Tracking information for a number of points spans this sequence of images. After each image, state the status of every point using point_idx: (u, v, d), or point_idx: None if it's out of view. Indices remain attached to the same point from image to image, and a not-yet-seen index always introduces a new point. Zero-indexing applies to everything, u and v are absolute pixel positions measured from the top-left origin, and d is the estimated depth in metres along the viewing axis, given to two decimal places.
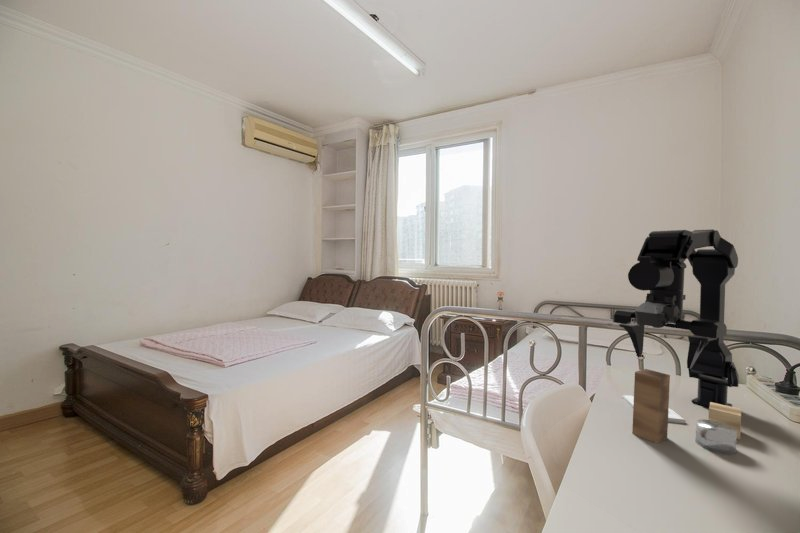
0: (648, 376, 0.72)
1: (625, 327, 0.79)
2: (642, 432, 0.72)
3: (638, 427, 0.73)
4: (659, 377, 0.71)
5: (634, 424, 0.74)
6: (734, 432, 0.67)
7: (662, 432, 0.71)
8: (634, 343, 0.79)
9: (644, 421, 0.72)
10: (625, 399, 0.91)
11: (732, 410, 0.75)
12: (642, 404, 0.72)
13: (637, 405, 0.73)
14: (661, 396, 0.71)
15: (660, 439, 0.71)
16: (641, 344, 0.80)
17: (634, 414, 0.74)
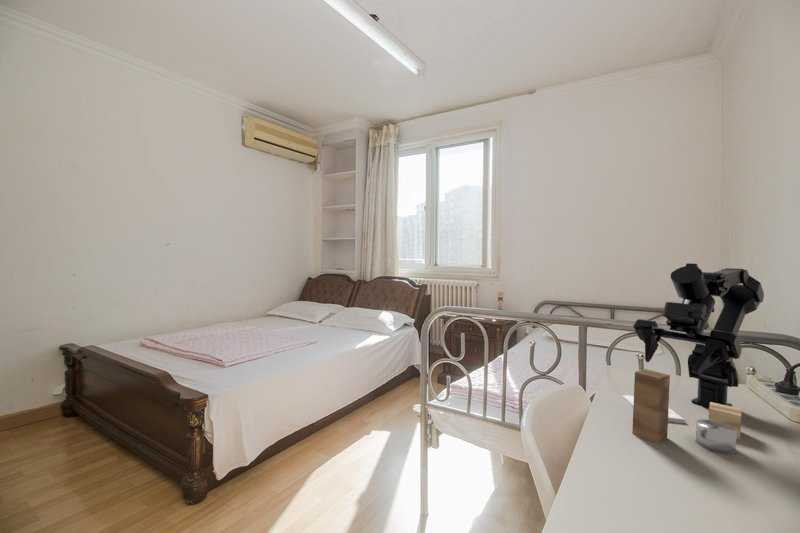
0: (648, 376, 0.72)
1: (644, 330, 0.84)
2: (642, 432, 0.72)
3: (638, 427, 0.73)
4: (659, 377, 0.71)
5: (634, 424, 0.74)
6: (734, 432, 0.67)
7: (662, 432, 0.71)
8: (647, 347, 0.82)
9: (644, 421, 0.72)
10: (625, 399, 0.91)
11: (732, 410, 0.75)
12: (642, 404, 0.72)
13: (637, 405, 0.73)
14: (661, 396, 0.71)
15: (660, 439, 0.71)
16: (652, 354, 0.82)
17: (634, 414, 0.74)
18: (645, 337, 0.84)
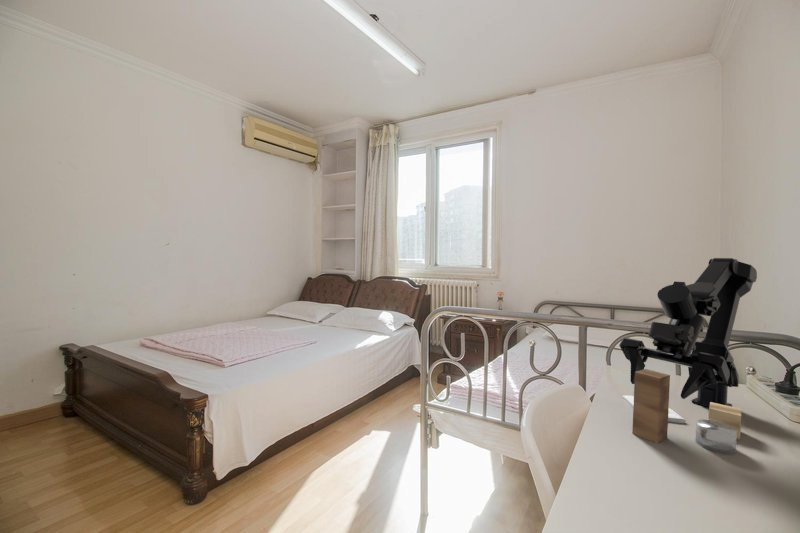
0: (648, 376, 0.72)
1: (630, 350, 0.81)
2: (642, 432, 0.72)
3: (638, 427, 0.73)
4: (659, 377, 0.71)
5: (634, 424, 0.74)
6: (734, 432, 0.67)
7: (662, 432, 0.71)
8: (632, 368, 0.79)
9: (644, 421, 0.72)
10: (625, 399, 0.91)
11: (732, 410, 0.75)
12: (642, 404, 0.72)
13: (637, 405, 0.73)
14: (661, 396, 0.71)
15: (660, 439, 0.71)
16: None
17: (634, 414, 0.74)
18: (631, 357, 0.81)
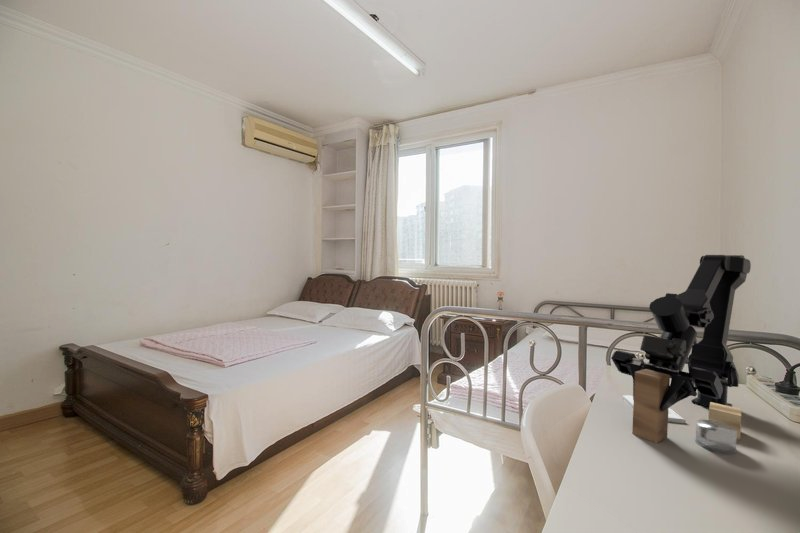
0: (648, 376, 0.72)
1: (632, 366, 0.77)
2: (642, 432, 0.72)
3: (638, 427, 0.73)
4: (659, 377, 0.71)
5: (634, 424, 0.74)
6: (734, 432, 0.67)
7: (662, 432, 0.71)
8: None
9: (644, 421, 0.72)
10: (625, 399, 0.91)
11: (732, 410, 0.75)
12: (642, 404, 0.72)
13: (637, 405, 0.73)
14: (661, 396, 0.71)
15: (660, 439, 0.71)
16: None
17: (634, 414, 0.74)
18: (633, 374, 0.77)
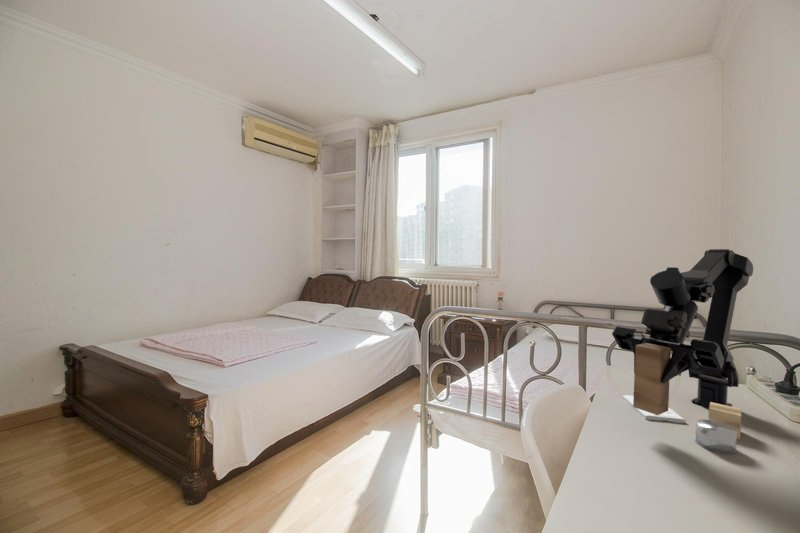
0: (649, 349, 0.71)
1: (633, 340, 0.77)
2: (643, 405, 0.72)
3: (639, 400, 0.73)
4: (660, 349, 0.70)
5: (635, 397, 0.74)
6: (734, 432, 0.67)
7: (663, 405, 0.71)
8: None
9: (645, 393, 0.72)
10: (625, 399, 0.91)
11: (732, 410, 0.75)
12: (643, 377, 0.72)
13: (638, 378, 0.73)
14: (662, 368, 0.70)
15: (661, 411, 0.71)
16: None
17: (635, 387, 0.74)
18: (634, 348, 0.77)
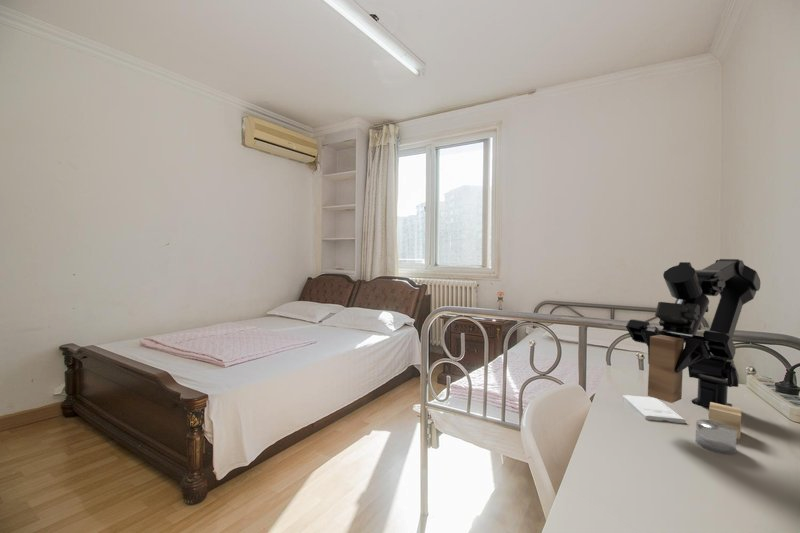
0: (663, 339, 0.75)
1: (647, 332, 0.80)
2: (657, 394, 0.75)
3: (653, 389, 0.76)
4: (674, 340, 0.73)
5: (649, 387, 0.77)
6: (734, 432, 0.67)
7: (677, 393, 0.74)
8: None
9: (660, 383, 0.75)
10: (625, 399, 0.91)
11: (732, 410, 0.75)
12: (657, 367, 0.75)
13: (652, 368, 0.76)
14: (676, 358, 0.73)
15: (675, 400, 0.74)
16: None
17: (649, 377, 0.77)
18: (648, 340, 0.80)
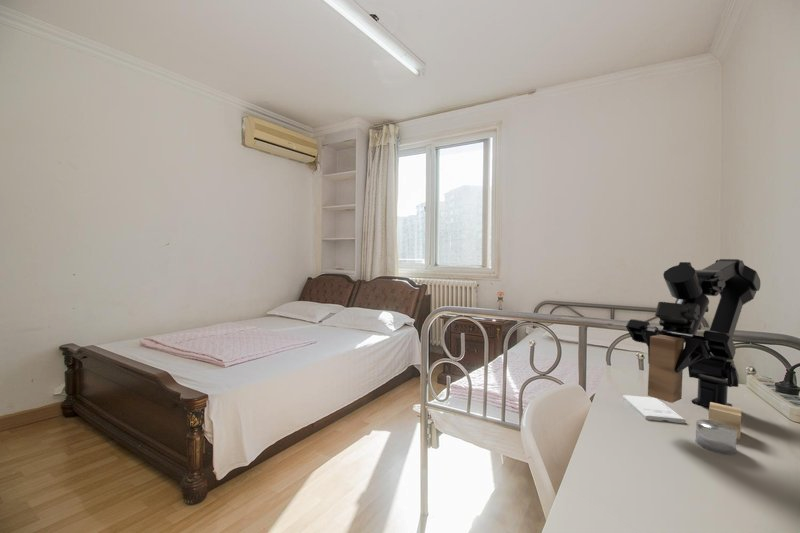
0: (663, 339, 0.75)
1: (647, 332, 0.80)
2: (657, 393, 0.75)
3: (653, 389, 0.76)
4: (674, 340, 0.73)
5: (649, 386, 0.77)
6: (734, 432, 0.67)
7: (677, 393, 0.74)
8: None
9: (660, 382, 0.75)
10: (625, 399, 0.91)
11: (732, 410, 0.75)
12: (657, 367, 0.75)
13: (652, 368, 0.76)
14: (676, 358, 0.74)
15: (675, 399, 0.74)
16: None
17: (649, 377, 0.77)
18: (648, 340, 0.80)
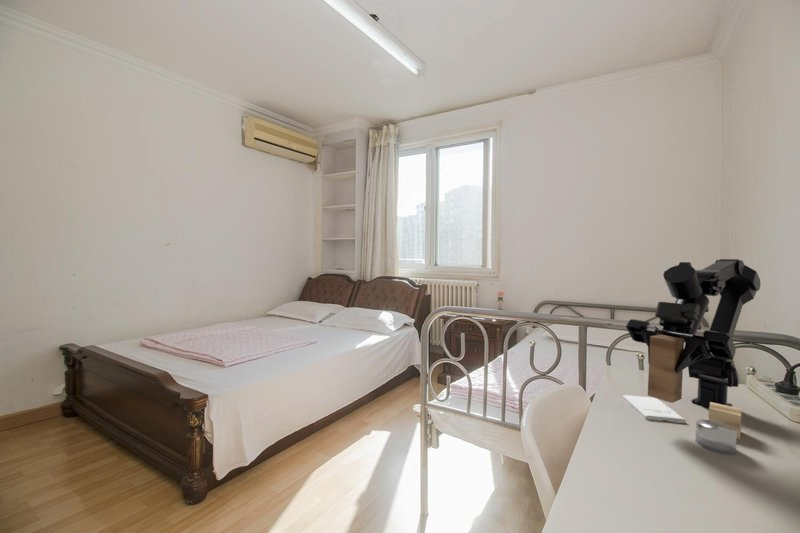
0: (663, 339, 0.75)
1: (647, 332, 0.80)
2: (657, 393, 0.75)
3: (653, 389, 0.76)
4: (674, 340, 0.73)
5: (649, 386, 0.77)
6: (734, 432, 0.67)
7: (677, 393, 0.74)
8: None
9: (660, 382, 0.75)
10: (625, 399, 0.91)
11: (732, 410, 0.75)
12: (657, 367, 0.75)
13: (652, 368, 0.76)
14: (676, 358, 0.74)
15: (675, 399, 0.74)
16: None
17: (649, 377, 0.77)
18: (648, 340, 0.80)
